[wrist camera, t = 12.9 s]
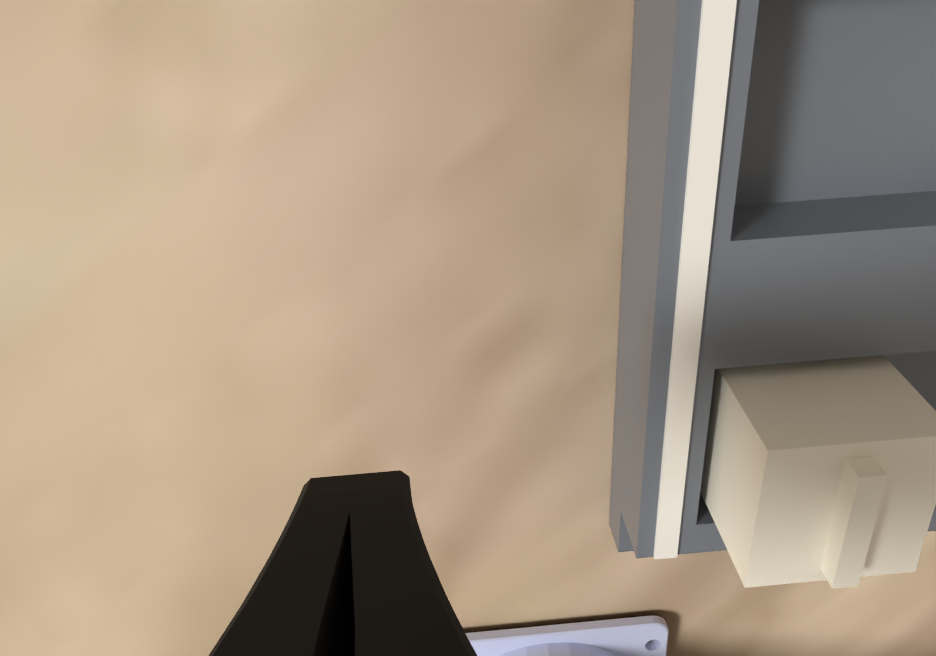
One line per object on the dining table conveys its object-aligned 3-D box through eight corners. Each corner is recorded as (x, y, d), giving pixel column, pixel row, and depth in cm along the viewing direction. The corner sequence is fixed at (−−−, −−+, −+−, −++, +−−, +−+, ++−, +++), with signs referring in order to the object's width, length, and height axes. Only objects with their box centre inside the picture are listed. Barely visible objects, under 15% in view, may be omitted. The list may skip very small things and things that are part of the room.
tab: (836, 461, 23) (928, 591, 19) (691, 473, 23) (754, 608, 19) (864, 335, 21) (974, 452, 17) (706, 348, 21) (779, 470, 17)
